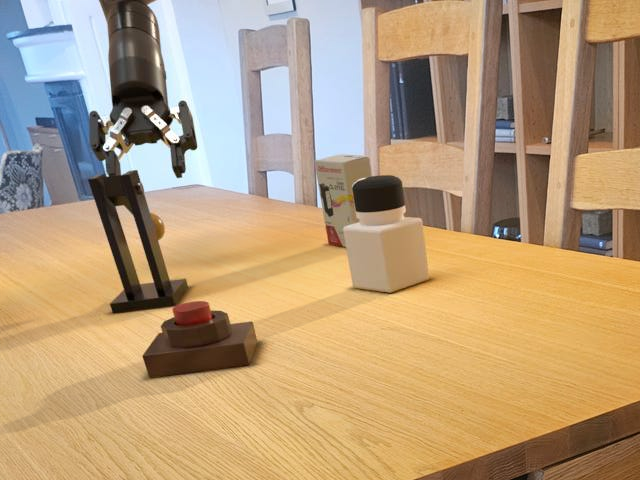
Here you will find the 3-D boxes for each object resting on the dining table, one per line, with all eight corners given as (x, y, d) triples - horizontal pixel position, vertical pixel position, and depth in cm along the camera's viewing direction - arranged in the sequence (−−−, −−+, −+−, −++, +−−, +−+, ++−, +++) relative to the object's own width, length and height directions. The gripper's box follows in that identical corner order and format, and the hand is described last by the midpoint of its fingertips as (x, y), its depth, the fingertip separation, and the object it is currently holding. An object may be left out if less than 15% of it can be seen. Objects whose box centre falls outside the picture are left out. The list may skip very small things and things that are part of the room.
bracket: (130, 294, 114) (91, 173, 106) (188, 287, 115) (153, 165, 106) (112, 313, 106) (68, 183, 98) (175, 305, 107) (136, 175, 98)
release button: (174, 330, 82) (168, 312, 81) (180, 321, 85) (175, 303, 84) (210, 326, 82) (205, 308, 81) (215, 316, 85) (211, 299, 84)
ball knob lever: (144, 246, 117) (140, 220, 116) (170, 243, 117) (165, 217, 116) (101, 203, 102) (96, 172, 101) (131, 199, 102) (125, 168, 101)
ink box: (327, 244, 131) (311, 159, 124) (353, 238, 133) (339, 154, 126) (356, 249, 125) (341, 160, 118) (383, 243, 128) (370, 155, 121)
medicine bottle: (430, 279, 105) (417, 172, 98) (389, 293, 101) (373, 183, 94) (392, 274, 109) (377, 171, 102) (351, 288, 105) (333, 181, 98)
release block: (149, 377, 82) (135, 337, 80) (164, 353, 89) (152, 315, 87) (249, 365, 83) (238, 324, 80) (257, 342, 89) (248, 303, 87)
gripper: (75, 60, 114) (83, 164, 112) (178, 48, 115) (188, 151, 112) (99, 103, 122) (107, 202, 119) (196, 92, 122) (206, 190, 120)
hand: (147, 177), depth 116 cm, fingers open, 8 cm apart
